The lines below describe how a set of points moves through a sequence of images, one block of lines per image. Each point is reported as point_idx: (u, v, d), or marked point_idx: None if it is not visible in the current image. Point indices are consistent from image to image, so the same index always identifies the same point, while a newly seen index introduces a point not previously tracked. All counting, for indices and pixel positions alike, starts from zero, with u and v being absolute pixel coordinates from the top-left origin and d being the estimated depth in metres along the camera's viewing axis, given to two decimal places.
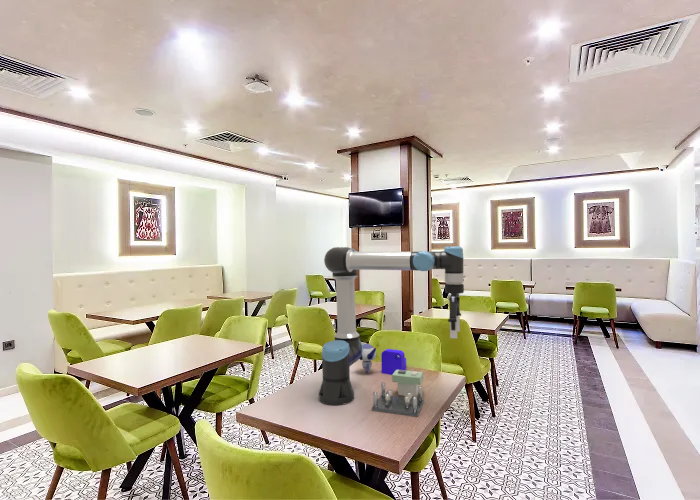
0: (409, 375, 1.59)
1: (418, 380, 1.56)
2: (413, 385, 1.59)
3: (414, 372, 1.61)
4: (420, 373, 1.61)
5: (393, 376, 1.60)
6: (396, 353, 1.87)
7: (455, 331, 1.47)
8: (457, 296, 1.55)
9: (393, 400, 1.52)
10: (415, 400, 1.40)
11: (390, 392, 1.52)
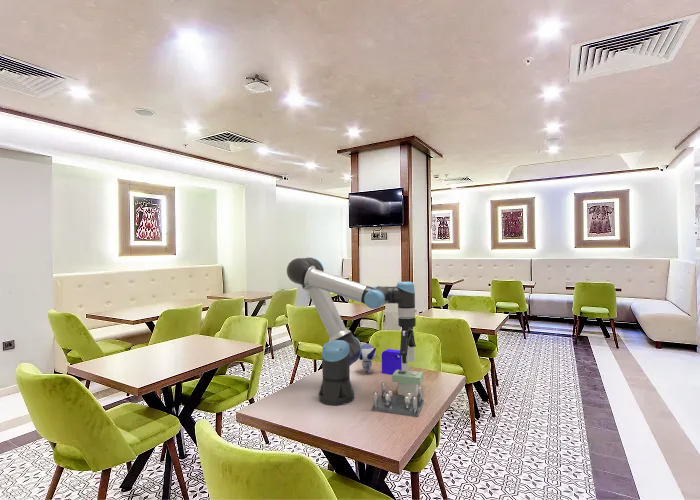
0: (409, 375, 1.59)
1: (418, 380, 1.56)
2: (413, 385, 1.59)
3: (414, 372, 1.61)
4: (420, 373, 1.61)
5: (393, 376, 1.60)
6: (396, 353, 1.87)
7: (406, 364, 1.55)
8: (410, 329, 1.63)
9: (393, 400, 1.52)
10: (415, 400, 1.40)
11: (390, 392, 1.52)
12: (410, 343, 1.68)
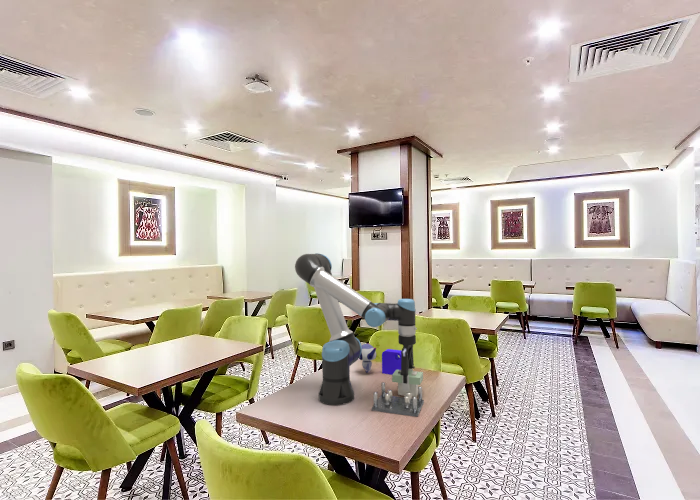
0: (409, 375, 1.59)
1: (418, 380, 1.56)
2: (413, 385, 1.59)
3: (414, 372, 1.61)
4: (420, 373, 1.61)
5: (393, 376, 1.60)
6: (396, 353, 1.87)
7: (407, 384, 1.57)
8: (410, 345, 1.63)
9: (393, 400, 1.52)
10: (415, 400, 1.40)
11: (390, 392, 1.52)
12: (409, 363, 1.66)
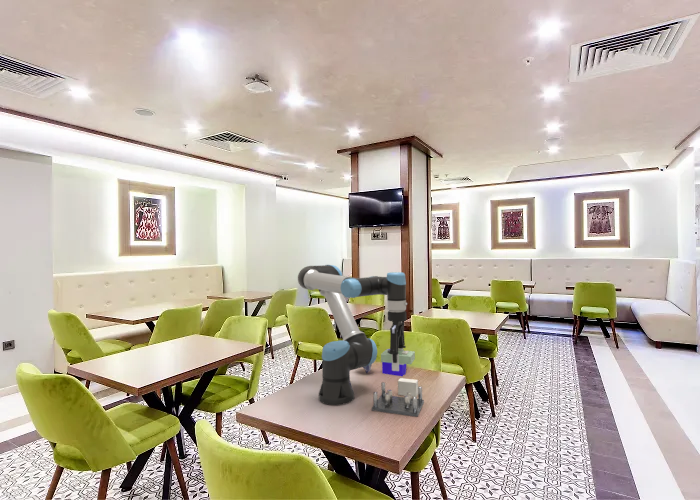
0: (399, 354, 1.47)
1: (409, 359, 1.44)
2: (413, 385, 1.59)
3: (405, 351, 1.49)
4: (411, 353, 1.48)
5: (382, 355, 1.47)
6: None
7: (397, 364, 1.45)
8: (400, 322, 1.50)
9: (393, 400, 1.52)
10: (415, 400, 1.40)
11: (390, 392, 1.52)
12: (399, 343, 1.53)
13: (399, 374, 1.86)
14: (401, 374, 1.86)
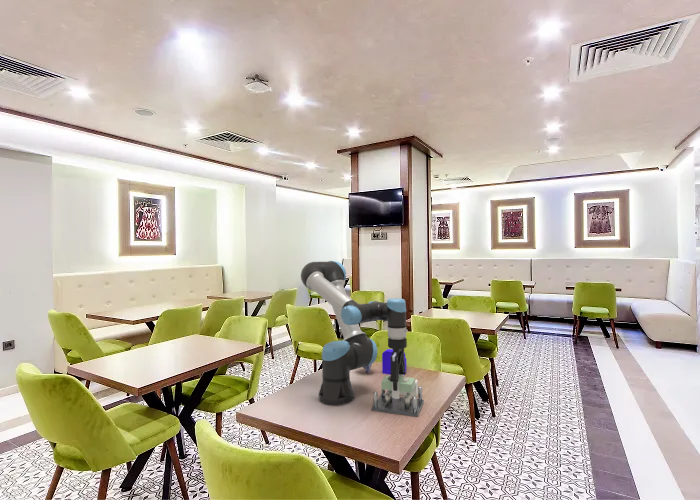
0: (400, 381, 1.47)
1: (409, 387, 1.43)
2: None
3: (405, 378, 1.49)
4: (412, 380, 1.48)
5: (382, 383, 1.47)
6: None
7: (397, 391, 1.44)
8: (400, 349, 1.50)
9: (393, 400, 1.52)
10: (415, 400, 1.40)
11: (390, 392, 1.52)
12: (400, 369, 1.53)
13: None
14: None
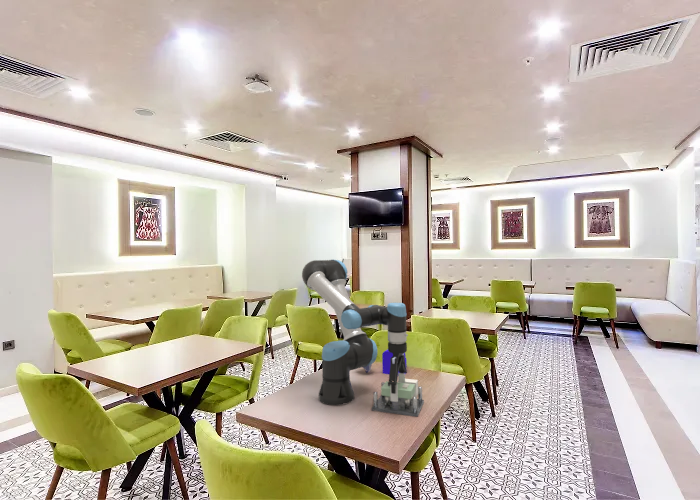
0: (400, 388, 1.47)
1: (409, 394, 1.44)
2: None
3: (405, 384, 1.49)
4: (411, 386, 1.48)
5: (382, 389, 1.47)
6: None
7: (395, 394, 1.42)
8: (400, 354, 1.50)
9: None
10: (415, 400, 1.40)
11: None
12: (401, 369, 1.55)
13: None
14: None
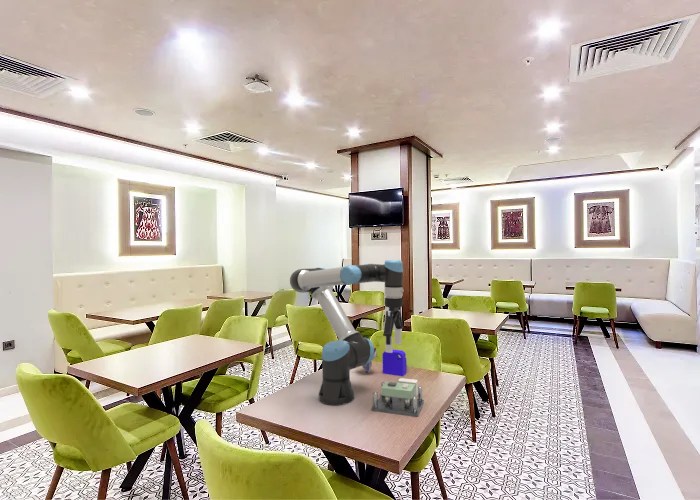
0: (400, 388, 1.47)
1: (409, 394, 1.44)
2: None
3: (405, 384, 1.49)
4: (411, 386, 1.48)
5: (382, 389, 1.47)
6: (397, 353, 1.87)
7: (390, 345, 1.47)
8: (397, 310, 1.55)
9: (393, 400, 1.52)
10: (415, 400, 1.40)
11: None
12: (397, 325, 1.60)
13: (400, 374, 1.86)
14: (402, 374, 1.86)
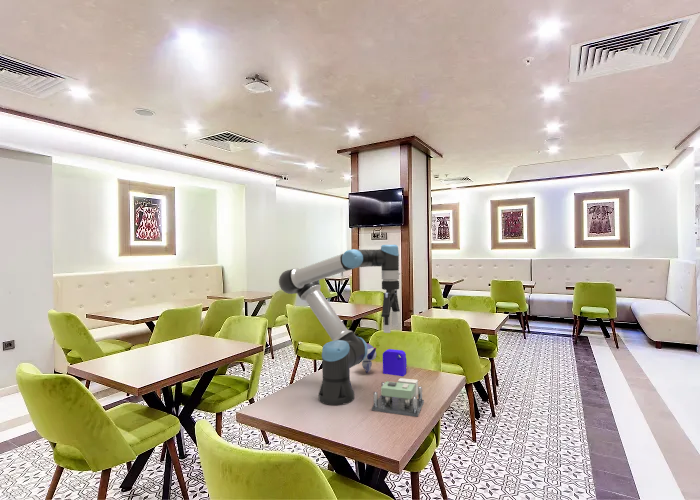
0: (400, 388, 1.47)
1: (409, 394, 1.44)
2: None
3: (405, 384, 1.49)
4: (411, 386, 1.48)
5: (382, 389, 1.47)
6: (398, 353, 1.87)
7: (388, 326, 1.54)
8: (393, 292, 1.61)
9: (393, 400, 1.52)
10: (415, 400, 1.40)
11: None
12: (394, 307, 1.66)
13: (400, 374, 1.86)
14: (402, 374, 1.86)
